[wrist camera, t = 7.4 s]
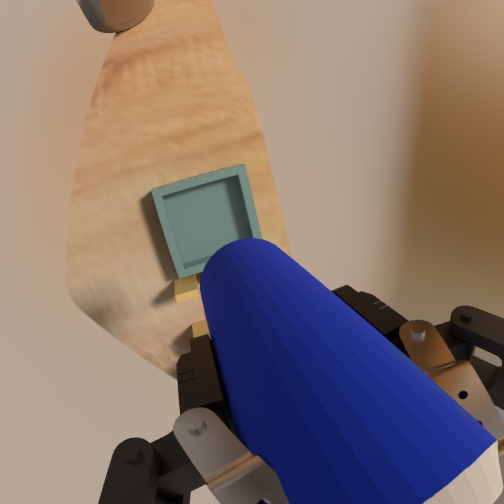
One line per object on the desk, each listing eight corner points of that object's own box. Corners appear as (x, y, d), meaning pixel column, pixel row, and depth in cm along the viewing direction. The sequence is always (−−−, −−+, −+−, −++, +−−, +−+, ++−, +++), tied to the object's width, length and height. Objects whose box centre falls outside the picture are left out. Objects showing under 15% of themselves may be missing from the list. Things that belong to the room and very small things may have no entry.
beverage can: (272, 324, 17) (417, 542, 3) (190, 313, 16) (264, 609, 2) (299, 246, 16) (543, 432, 2) (211, 225, 14) (434, 570, 1)
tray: (153, 188, 32) (151, 190, 30) (240, 164, 34) (244, 164, 31) (178, 271, 36) (179, 278, 33) (259, 246, 38) (265, 252, 35)
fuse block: (173, 276, 36) (173, 292, 31) (215, 263, 37) (220, 278, 32) (211, 370, 42) (216, 391, 37) (245, 359, 42) (253, 379, 38)
